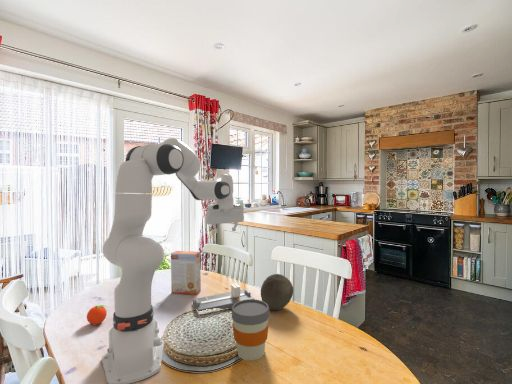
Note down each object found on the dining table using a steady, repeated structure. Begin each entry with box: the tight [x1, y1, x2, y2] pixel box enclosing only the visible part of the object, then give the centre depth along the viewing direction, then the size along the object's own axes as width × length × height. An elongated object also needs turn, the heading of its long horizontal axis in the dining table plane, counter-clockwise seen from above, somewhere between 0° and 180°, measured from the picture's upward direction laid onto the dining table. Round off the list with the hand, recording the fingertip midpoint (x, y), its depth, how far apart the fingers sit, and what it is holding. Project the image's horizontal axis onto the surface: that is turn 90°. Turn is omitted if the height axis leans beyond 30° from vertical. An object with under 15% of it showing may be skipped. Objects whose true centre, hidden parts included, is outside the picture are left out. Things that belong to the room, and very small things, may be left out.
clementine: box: [86, 304, 108, 326], centre depth 107 cm, size 8×7×7 cm
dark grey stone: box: [260, 273, 294, 311], centre depth 118 cm, size 14×14×15 cm
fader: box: [230, 283, 241, 298], centre depth 126 cm, size 5×3×5 cm, turn 25°
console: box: [192, 288, 255, 311], centre depth 124 cm, size 12×26×4 cm, turn 115°
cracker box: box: [170, 250, 202, 296], centre depth 138 cm, size 14×6×21 cm, turn 78°
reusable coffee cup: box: [231, 298, 270, 361], centre depth 88 cm, size 13×13×15 cm
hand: (225, 231), depth 138 cm, fingers open, 8 cm apart
